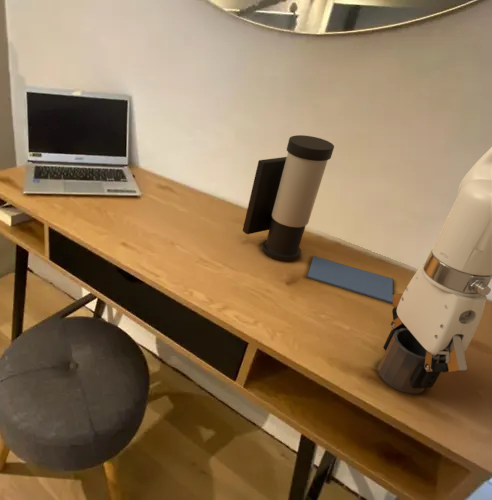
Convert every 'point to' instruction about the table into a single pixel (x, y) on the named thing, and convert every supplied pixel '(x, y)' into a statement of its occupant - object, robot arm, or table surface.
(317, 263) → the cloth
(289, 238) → the light fixture
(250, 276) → the table surface
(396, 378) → the pot
